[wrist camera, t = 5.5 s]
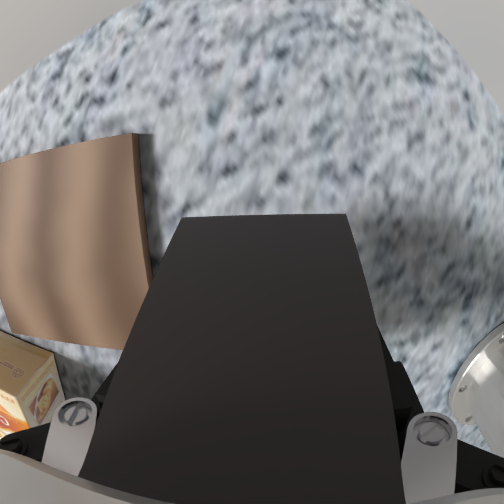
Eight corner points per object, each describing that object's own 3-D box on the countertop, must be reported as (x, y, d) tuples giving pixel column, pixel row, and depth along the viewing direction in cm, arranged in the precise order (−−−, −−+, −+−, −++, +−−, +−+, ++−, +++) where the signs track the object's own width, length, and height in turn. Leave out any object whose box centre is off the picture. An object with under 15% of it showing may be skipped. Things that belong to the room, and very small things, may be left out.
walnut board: (138, 133, 18) (131, 133, 17) (165, 346, 23) (161, 353, 22) (-17, 169, 19) (-25, 171, 18) (17, 327, 24) (12, 332, 23)
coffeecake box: (14, 398, 17) (72, 502, 24) (55, 351, 24) (90, 462, 31) (-75, 340, 18) (-16, 453, 24) (-37, 310, 24) (7, 422, 31)
